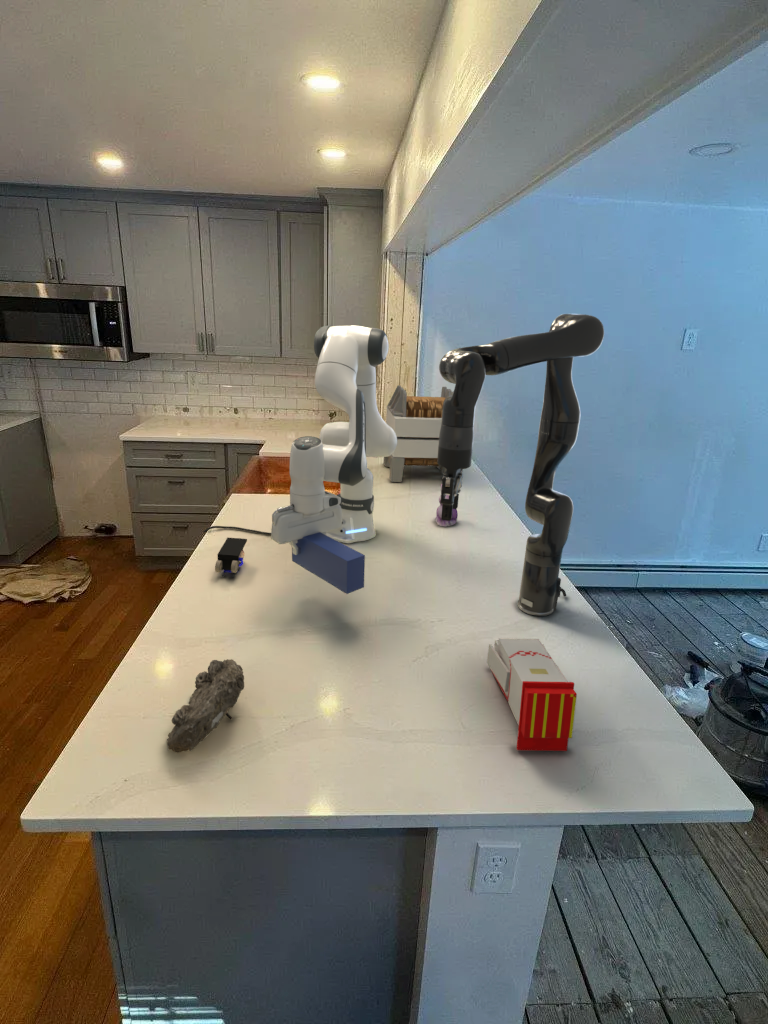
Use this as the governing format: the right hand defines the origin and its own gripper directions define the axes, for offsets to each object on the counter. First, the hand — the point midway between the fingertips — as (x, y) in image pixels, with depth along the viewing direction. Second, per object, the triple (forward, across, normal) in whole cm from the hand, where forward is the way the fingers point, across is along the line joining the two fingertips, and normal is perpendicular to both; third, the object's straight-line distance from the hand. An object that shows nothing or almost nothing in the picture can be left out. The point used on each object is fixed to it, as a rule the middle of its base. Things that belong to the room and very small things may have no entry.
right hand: (449, 513), depth 130 cm
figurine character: (+31, +12, +65) cm, 73 cm away
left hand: (+17, +5, +37) cm, 42 cm away
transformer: (+31, +138, +36) cm, 146 cm away
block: (+21, +1, +30) cm, 37 cm away
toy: (+31, -21, -21) cm, 43 cm away
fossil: (+31, -45, +36) cm, 65 cm away
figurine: (+31, +76, +12) cm, 83 cm away
